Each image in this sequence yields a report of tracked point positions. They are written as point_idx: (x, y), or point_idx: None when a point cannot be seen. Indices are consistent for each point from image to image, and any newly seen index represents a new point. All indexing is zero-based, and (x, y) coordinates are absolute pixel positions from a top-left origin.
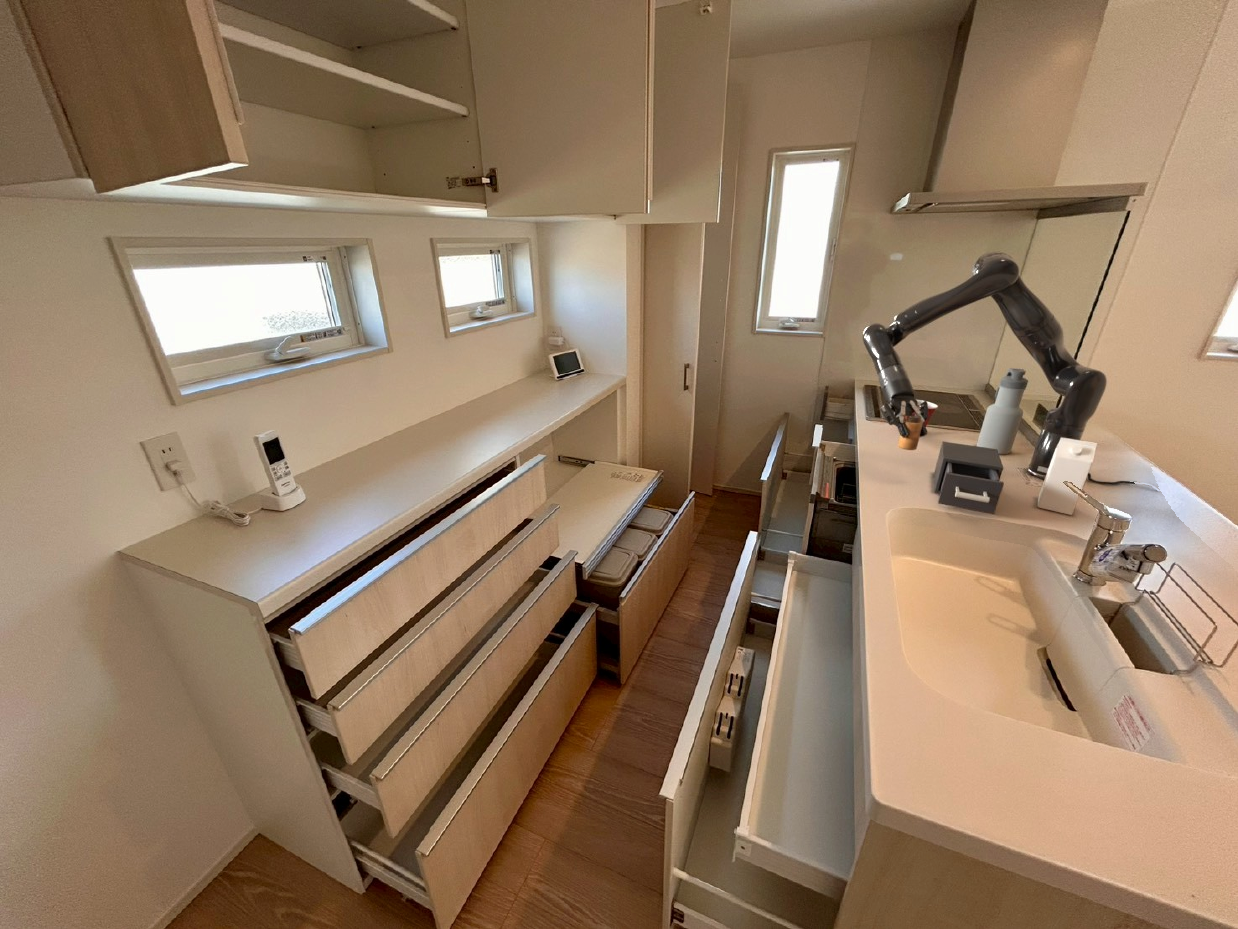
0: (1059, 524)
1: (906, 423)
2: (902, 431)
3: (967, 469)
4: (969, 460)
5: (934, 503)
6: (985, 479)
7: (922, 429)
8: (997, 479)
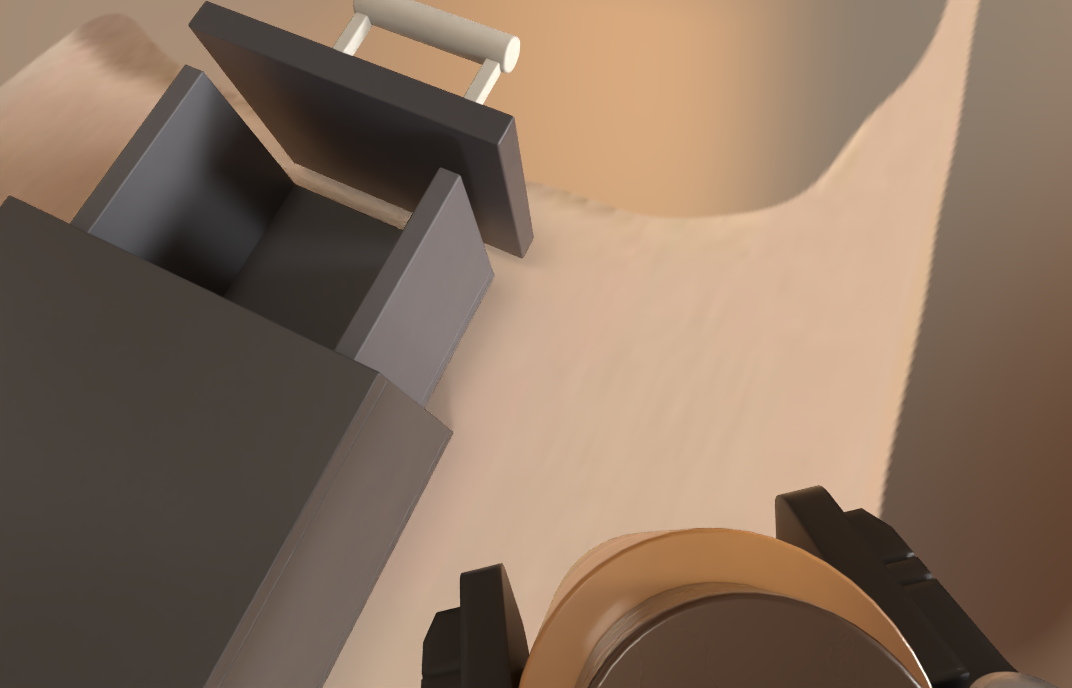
0: (52, 121)
1: (899, 657)
2: (904, 551)
3: None
4: (169, 335)
5: (530, 283)
6: (284, 46)
7: (509, 644)
8: (191, 70)
